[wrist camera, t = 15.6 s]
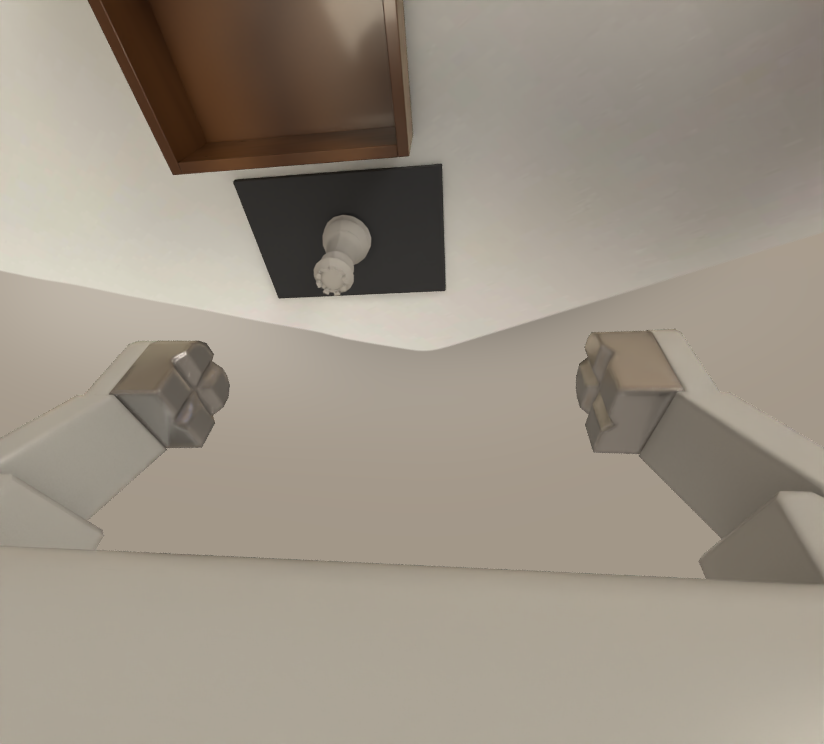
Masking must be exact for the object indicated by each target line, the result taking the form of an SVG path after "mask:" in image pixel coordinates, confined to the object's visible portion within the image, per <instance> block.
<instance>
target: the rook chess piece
mask: <svg viewBox="0 0 824 744" xmlns="http://www.w3.org/2000/svg"><path fill="white" fill-rule="evenodd" d="M323 247H324V249H325V251H326V254H325V255H323V257H322V259H321V260H320V261H319V262H318V263H316V266H315V268H314V277H315V279H316V284H317V286H318V288H320V287H322V288H323V289H324V291H323V293H325V294H327V295H329V293H330V292H333V293H334V295H335V296H337V295H340V294H341V292H345V291H347V290H348V289H350V288H351V286H352V284H353V282H354V275H353V272H354V265H355V264H358V263H359V262H360V261H362V260H363V259H364V258H365V257H366V255H367V253H368V251H369V249H370V247H371V236H370V233H369V230H368V228H367V227H366V226H365V225H364V223H363V222H362V221H360V220H358V219H357V218H355V217H353V216H347V215H340V216H336V217H334V218H332V219H331V220H330V221H329V222H328V223H327V225H326V227H325V229H324V233H323Z"/></svg>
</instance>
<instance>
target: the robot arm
mask: <svg viewBox="0 0 824 744" xmlns="http://www.w3.org/2000/svg"><path fill="white" fill-rule="evenodd" d="M585 351H586V353H587V356H588V357H587V358H586V359H585V360H583V361H582V362H581V363H580V364H579V368H578V372H577V375H576V393H577V399H578V402H579V406H580V408H582V409H583V410H584V411H585V412H586V413H587V414H589V415H588V418H587V421H586V424H585V426H586V429H587V433H588V436H589V439H590V443H591V446H592V449H593V452H598V453H626V454H640V455H639V457H640V458H641V459H642V460H643V461H644V462H645V463H646V464H647V465H648V466H649V467H650V468H651V469H652V470H653V471H654V472H655V473H656V474H657V475H658V476H659V477H660V478H661V479H662V480H663V481H664V482H665V483H666V484H667V485H668V486H669V487H670V488H671V489H672V490H673V491H674V492H675V493H676V494H677V495H678V496H679V497H680V498H681V499H682V500H683V501H685V503H686V504H687V505H688V506H689V507H690V508H691V509H692V510H693V511H695V513H697V515H698V516H699V517H700V518H701V519H702V520H703V521H704V522H705V523H706V524H707V525H708V526H709V527H710V528H711V529H712V530H713V531H714V532H715V533H716V534H718V536H719V537H720V538H721V540H720V541H719V542H718V543H716V544H715V545H714V546H713V547H712V548H710V549H709V550H708V551H707V552H706V553H704V555H703V556H702V557H701V558H700V560H699V563H700V565H701V568H702V570H703V573H704V575H705V578H706V579H698V578H697V579H696V578H677V577H656V576H635V575H612V574H592V573H570V572H550V571H528V570H508V569H487V568H466V567H465V568H464V567H445V566H424V565H403V564H401V565H400V564H382V563H361V562H339V561H318V560H297V559H275V558H256V557H234V556H213V555H191V554H170V553H169V554H168V553H149V552H128V551H106V550H95V549H96V548H97V546H98V544H99V543H100V541H101V539H102V538H103V536H104V535H103V530H102V529H100V528H98V527H97V526H95V525H94V524H92V523H90V522H89V521H87V520H88V519H90V518H91V517H92V516H93V515H94V514H95V513H96V512H97V511H99V510H100V509H101V508H102V507H103V506H104V505H105V504H107V503H108V502H109V501H110V500H111V499H112V498H113V497H114V496H116V495H117V494H118V493H119V492H120V491H121V490H122V489H123V488H124V487H126V486H127V485H128V484H129V483H130V482H131V481H132V480H134V479H135V478H136V477H137V476H138V475H139V474H140V473H141V472H142V471H144V470H145V469H146V468H147V467H148V466H149V465H150V464H152V463H153V462H154V461H155V460H156V459H157V458H158V457H159V456H161V455H162V454H163V453H164V452H165V451H166V450H167V449H166V448H194V447H195V448H198V447H202V446H203V444H204V443H205V441H206V439H207V437H208V435H209V433H210V431H211V430H212V428H213V426H214V424H215V421H214V418H213V415H214V414H215V413H217V412H218V411H219V410H220V409H221V408H223V407H224V405H225V403H226V401H227V399H228V396H229V387H230V384H229V381H228V377H227V375H226V373H225V372H224V370H223V368H222V367H220V366H219V365H217V364H215V363H214V362H212V359H213V355H214V354H213V352H212V351H211V349H210V348H209V346H208V345H207V343H204V342H201V341H137V342H134V343H131V344H129V345H128V346H127V347H126V348H125V349H124V350H123V351H122V353H121V354H120V355H119V356H118V357H117V358H116V359H115V360H114V361H113V363H112V364H111V365H110V366H109V367H108V368H107V369H106V371H105V372H104V373H103V374H102V375H101V376H100V377H99V378H98V379H97V381H96V382H95V383H94V384H93V385H92V386H91V387H90V389H88V391H87V392H86V393H85V394H84V395H76V396H74V397H73V398H71V399H69V400H67V401H66V402H64V403H62V404H60V405H58V406H57V407H55V408H53V409H51V410H49V411H48V412H46V413H44V414H42V415H40V416H39V417H37V418H35V419H33V420H32V421H30V422H28V423H26V424H24V425H23V426H21V427H19V428H17V429H16V430H14V431H12V432H10V433H8V434H7V435H5V436H3V437H1V438H0V744H824V447H822V446H820V445H819V444H817V443H815V442H814V441H812V440H810V439H808V438H807V437H805V436H803V435H802V434H800V433H798V432H797V431H795V430H793V429H792V428H790V427H788V426H787V425H784V424H783V423H781V422H780V421H778V420H776V419H775V418H773V417H771V416H770V415H768V414H766V413H764V412H763V411H761V410H759V409H758V408H756V407H754V406H753V405H751V404H749V403H747V402H746V401H744V400H742V399H741V398H739V397H737V396H736V395H734V394H732V393H730V392H720V391H719V389H718V388H717V386H716V385H715V383H714V382H713V380H712V379H711V377H710V376H709V374H708V373H707V371H706V369H705V368H704V366H703V365H702V363H701V362H700V360H699V359H698V357H697V356H696V354H695V353H694V352H693V350H692V348H691V347H690V345H689V344H688V342H687V340H686V339H685V338H684V336H683V335H682V333H681V332H680V331H678V330H676V329H661V330H646V331H615V332H591V334H590V335H589V337H588V338H587V341H586V344H585Z"/></svg>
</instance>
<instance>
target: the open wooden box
mask: <svg viewBox="0 0 824 744" xmlns="http://www.w3.org/2000/svg"><path fill="white" fill-rule="evenodd" d="M88 2H89V4H90V6H91V8H92V10H93V12H94V14H95V16H96V18H97V20H98V22H99V24H100V27H101V29H102V31H103V33H104V35H105V37H106V39H107V41H108V43H109V45H110V47H111V49H112V51H113V53H114V55H115V57H116V59H117V61H118V63H119V65H120V67H121V70H122V72H123V74H124V76H125V78H126V80H127V82H128V84H129V86H130V88H131V90H132V92H133V94H134V96H135V98H136V100H137V102H138V104H139V106H140V108H141V110H142V112H143V115H144V117H145V119H146V121H147V123H148V125H149V127H150V129H151V131H152V133H153V135H154V137H155V139H156V141H157V143H158V145H159V147H160V149H161V151H162V153H163V155H164V158H165V160H166V162H167V164H168V166H169V168H170V170H171V172H172V174H173V175H180V174H192V173H204V172H217V171H230V170H242V169H255V168H267V167H280V166H292V165H305V164H317V163H330V162H343V161H355V160H368V159H380V158H393V157H405V156H409V154H410V149H411V143H412V138H413V128H412V114H411V101H410V87H409V74H408V60H407V46H406V33H405V19H404V6H403V0H88Z"/></svg>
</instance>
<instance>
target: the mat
mask: <svg viewBox="0 0 824 744" xmlns="http://www.w3.org/2000/svg"><path fill="white" fill-rule="evenodd" d="M233 183H234V185H235V188H236V190H237V193H238V196H239V198H240V201H241V203H242V206H243V208H244V211H245V213H246V216H247V219H248V221H249V224H250V226H251V229H252V231H253V234H254V237H255V239H256V242H257V244H258V247H259V249H260V252H261V254H262V257H263V260H264V262H265V265H266V267H267V270H268V272H269V275H270V277H271V280H272V283H273V285H274V288H275V290H276V293H277V295H278V298H299V297H321V296H335V295H334V293H333V292H330V293H329V295H327V294H325V293H323V291H324V289H323V288H322V287H320V288H318V286H317V284H316V279H315V277H314V268H315V266H316V263H318V262H319V261H320V260H321V259H322V257H323V255H325V254H326V251H325V249H324V247H323V233H324V229H325V227H326V225H327V223H328V222H329V221H330V220H331V219H332V218H334V217H336V216H340V215H347V216H353V217H355V218H357V219H358V220H360V221H362V222H363V223H364V225H365V226H366V227H367V228H368V230H369V233H370V236H371V247H370V249H369V251H368V253H367V255H366V257H365V258H364V259H363V260H362V261H360V262H359V263H358V264H355V265H354V272H353V275H354V282H353V284H352V286H351V288H350V289H348V290H347V291H345V292H341V294H340V295H337V296H343V295H365V294H387V293H410V292H432V291H445V255H444V221H443V187H442V164H434V165H421V166H408V167H395V168H382V169H369V170H356V171H343V172H330V173H317V174H304V175H291V176H278V177H265V178H252V179H239V180H235V181H233Z"/></svg>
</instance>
